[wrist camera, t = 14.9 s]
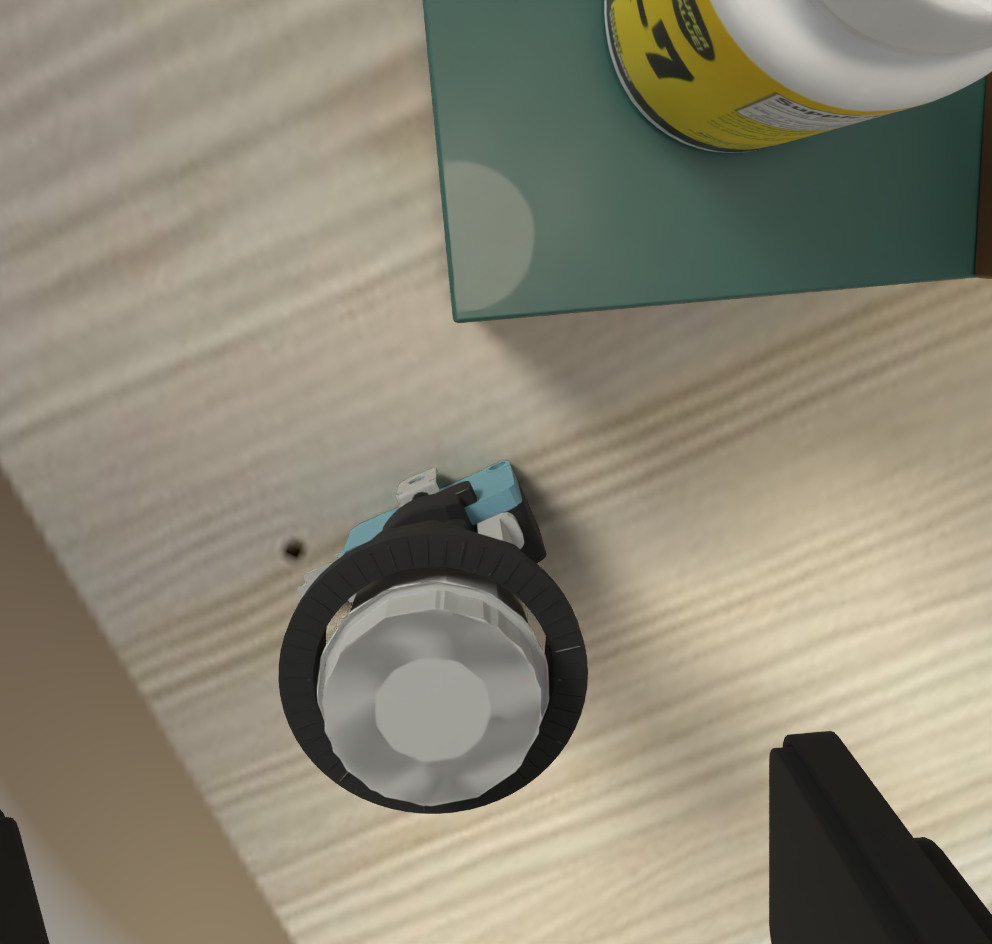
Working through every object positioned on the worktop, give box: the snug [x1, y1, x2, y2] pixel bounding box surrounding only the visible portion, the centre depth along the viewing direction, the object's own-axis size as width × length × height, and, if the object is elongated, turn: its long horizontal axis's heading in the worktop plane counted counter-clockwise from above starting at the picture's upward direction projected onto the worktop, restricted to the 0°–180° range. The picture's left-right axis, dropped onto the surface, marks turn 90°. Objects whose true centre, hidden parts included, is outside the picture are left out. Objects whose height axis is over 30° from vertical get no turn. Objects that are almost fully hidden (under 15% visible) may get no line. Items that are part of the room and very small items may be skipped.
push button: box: [279, 460, 588, 814], centre depth 19 cm, size 7×5×10 cm
